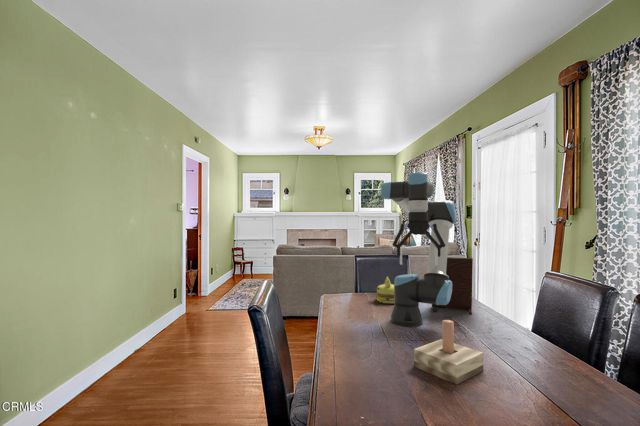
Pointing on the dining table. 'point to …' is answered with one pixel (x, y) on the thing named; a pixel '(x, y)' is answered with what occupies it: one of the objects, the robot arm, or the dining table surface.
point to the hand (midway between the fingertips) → (418, 264)
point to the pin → (448, 336)
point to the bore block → (448, 361)
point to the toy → (385, 292)
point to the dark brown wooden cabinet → (459, 284)
